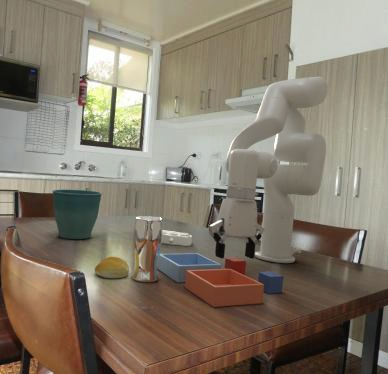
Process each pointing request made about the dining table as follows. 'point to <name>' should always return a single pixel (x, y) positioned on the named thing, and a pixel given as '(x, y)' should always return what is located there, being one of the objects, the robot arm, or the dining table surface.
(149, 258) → the beer glass
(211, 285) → the terracotta bin
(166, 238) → the white brass knuckles
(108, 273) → the bread roll
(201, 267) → the blue bin
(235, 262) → the red block
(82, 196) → the flower pot
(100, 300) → the dining table surface
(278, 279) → the blue block
